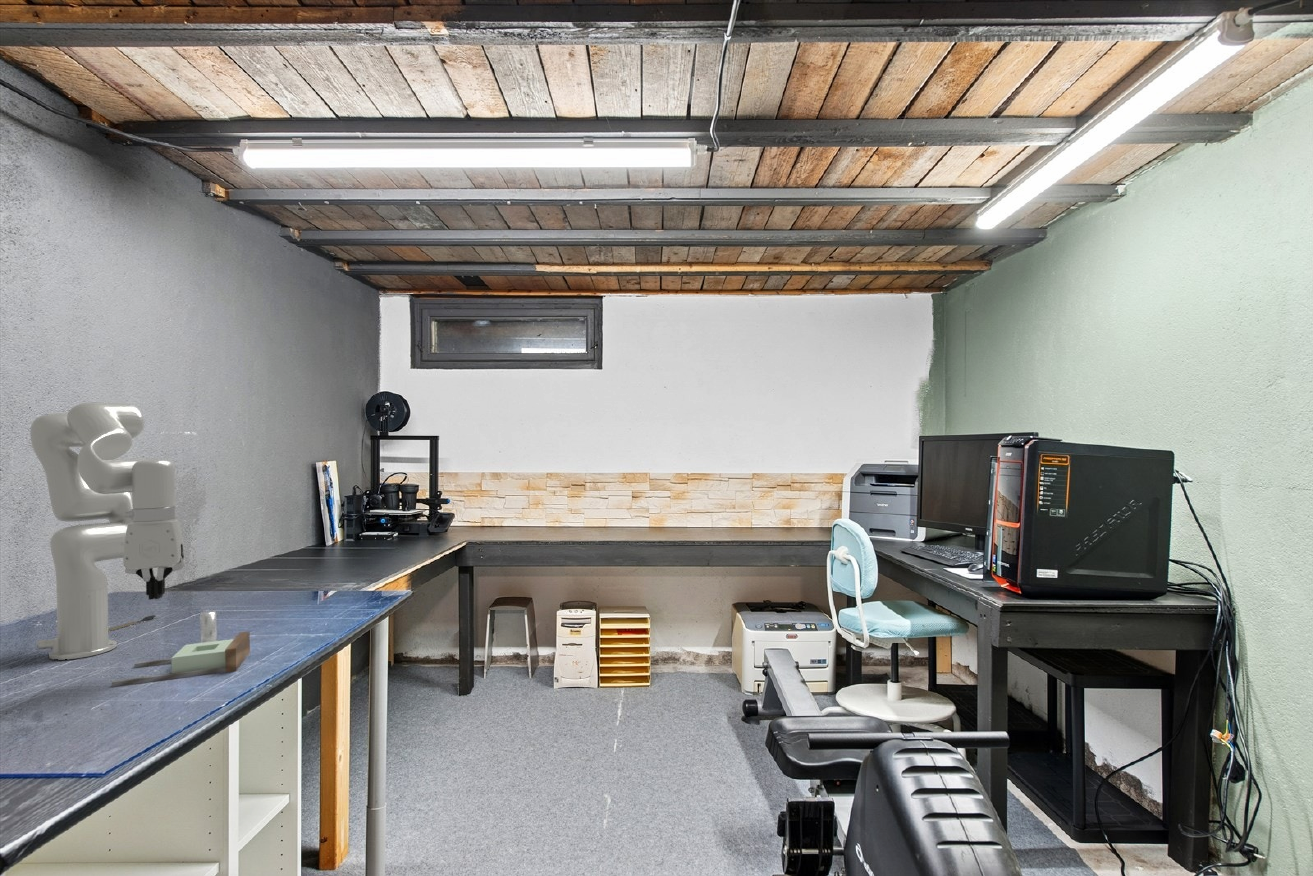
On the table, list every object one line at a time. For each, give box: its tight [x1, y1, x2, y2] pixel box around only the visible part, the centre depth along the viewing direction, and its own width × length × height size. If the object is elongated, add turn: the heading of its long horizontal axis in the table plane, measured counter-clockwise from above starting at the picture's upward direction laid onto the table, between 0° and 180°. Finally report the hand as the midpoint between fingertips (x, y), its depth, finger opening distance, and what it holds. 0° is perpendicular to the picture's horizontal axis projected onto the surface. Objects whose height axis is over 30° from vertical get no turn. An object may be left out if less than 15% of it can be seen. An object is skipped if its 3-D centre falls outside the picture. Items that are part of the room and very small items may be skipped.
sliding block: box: [171, 638, 235, 674], centre depth 145 cm, size 10×10×4 cm
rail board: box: [111, 631, 251, 688], centre depth 143 cm, size 26×14×6 cm, turn 112°
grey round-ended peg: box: [199, 610, 218, 643], centre depth 158 cm, size 3×3×10 cm
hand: (155, 597), depth 144 cm, fingers closed
